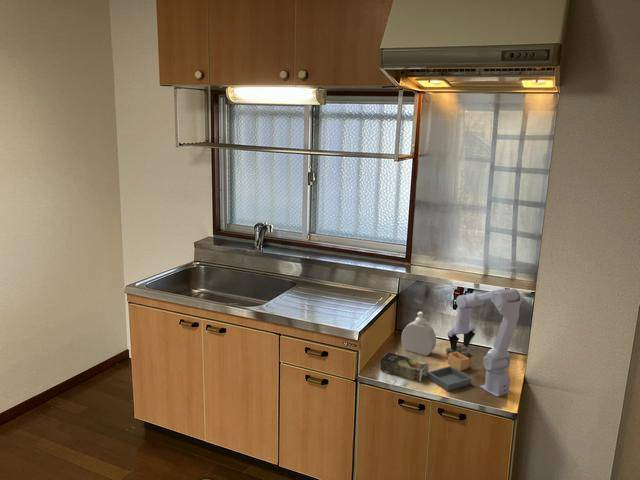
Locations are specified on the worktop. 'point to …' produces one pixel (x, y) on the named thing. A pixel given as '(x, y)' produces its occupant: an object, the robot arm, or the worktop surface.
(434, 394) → the worktop surface
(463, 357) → the orange crate
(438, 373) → the charcoal bin
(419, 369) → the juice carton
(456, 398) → the worktop surface
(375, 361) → the worktop surface
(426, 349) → the soap bottle
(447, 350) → the egg carton
